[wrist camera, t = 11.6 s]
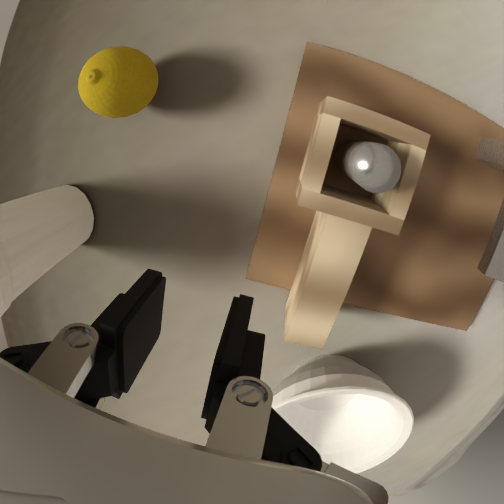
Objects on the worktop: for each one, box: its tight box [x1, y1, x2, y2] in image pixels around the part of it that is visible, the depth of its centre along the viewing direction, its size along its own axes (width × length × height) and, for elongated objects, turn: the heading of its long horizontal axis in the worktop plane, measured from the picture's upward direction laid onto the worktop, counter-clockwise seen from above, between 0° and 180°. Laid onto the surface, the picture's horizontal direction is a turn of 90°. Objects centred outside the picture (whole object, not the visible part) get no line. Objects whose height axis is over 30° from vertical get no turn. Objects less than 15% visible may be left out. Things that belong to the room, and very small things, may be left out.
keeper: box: [476, 137, 504, 282], centre depth 19 cm, size 10×2×7 cm, turn 167°
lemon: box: [78, 47, 159, 118], centre depth 19 cm, size 6×6×8 cm
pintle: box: [334, 140, 401, 193], centre depth 19 cm, size 3×3×7 cm
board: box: [246, 42, 504, 331], centre depth 24 cm, size 20×24×1 cm
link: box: [284, 96, 430, 349], centre depth 22 cm, size 17×7×5 cm, turn 167°
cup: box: [0, 185, 94, 317], centre depth 21 cm, size 8×8×14 cm
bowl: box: [271, 355, 414, 473], centre depth 28 cm, size 16×16×8 cm
